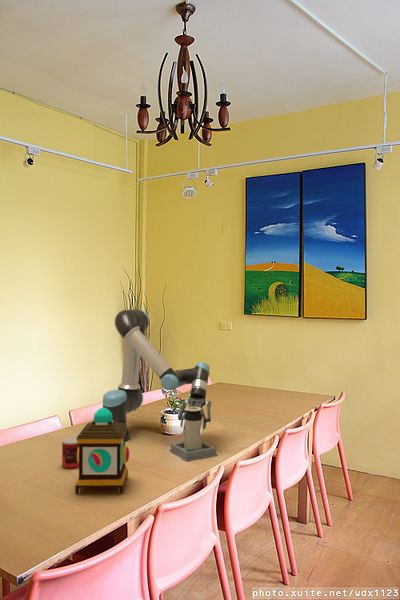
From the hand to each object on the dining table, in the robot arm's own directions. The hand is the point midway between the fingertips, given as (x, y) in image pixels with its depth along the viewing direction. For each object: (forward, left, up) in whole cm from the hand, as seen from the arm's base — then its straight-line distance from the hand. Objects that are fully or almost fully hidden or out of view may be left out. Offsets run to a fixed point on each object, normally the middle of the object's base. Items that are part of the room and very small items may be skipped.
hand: (191, 433), depth 228 cm
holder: (+2, +2, -10) cm, 11 cm away
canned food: (-51, +13, -10) cm, 54 cm away
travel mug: (+2, +3, -7) cm, 8 cm away
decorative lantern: (-47, -14, -10) cm, 50 cm away
